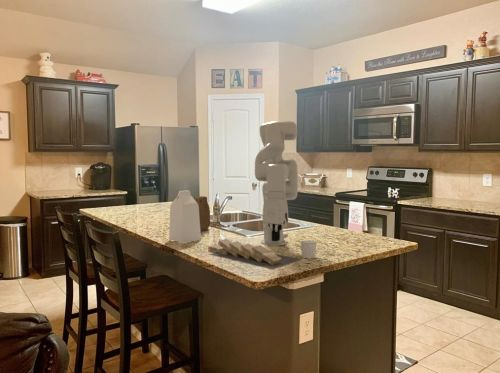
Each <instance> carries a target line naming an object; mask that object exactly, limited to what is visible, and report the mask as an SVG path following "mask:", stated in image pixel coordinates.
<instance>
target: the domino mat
mask: <svg viewBox="0 0 500 373" xmlns="http://www.w3.org/2000/svg"><path fill="white" fill-rule="evenodd" d="M274 254H275V255H277V256H278V257H280V258H281V262H280V263H278V264H275V265H271V264H270V263H268V262H267V261H264V262H261V263H260V262H259V261H257V260H256V259H254V258H253V259H249V260H248V259H246V258H245V257H243V256H238V257H235V256H234V255H233V254H228V255H225V254H221V253H216V252H212V253H210V254H209V255H210V256H214V257H219V258H223V259H226V260H231V261H236V262H239V263H240V262H241V263H244V264H248V265H251V266H256V267H260V268H263V269H264V268H265V269H269V270H275V269H279V268H282V267H284V266H287V265H290V264H294V263H296V262H300V261H303V259H301V258H296V257H293V256H287V255H283V254H278V253H274Z"/></svg>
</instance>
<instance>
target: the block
mask: <svg viewBox="0 0 500 373" xmlns="http://www.w3.org/2000/svg"><path fill="white" fill-rule="evenodd" d="M193 198H194V200H195V201H196V202H197V204H198V206H199V218H200V232H204V231H207V230H209V227H210V225H211V209H210V208H211V207H210V205H209V203H208V197H207V196H205V195H203V196H202V195H201V196H200V195H199V196H195V197H193Z"/></svg>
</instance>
